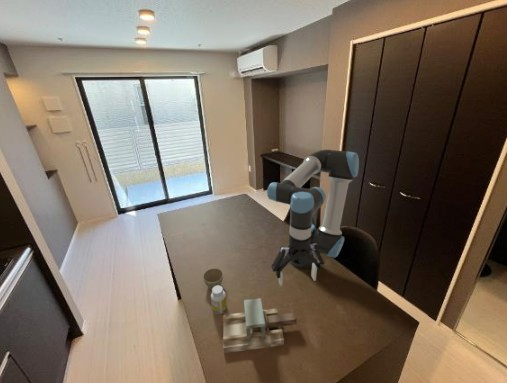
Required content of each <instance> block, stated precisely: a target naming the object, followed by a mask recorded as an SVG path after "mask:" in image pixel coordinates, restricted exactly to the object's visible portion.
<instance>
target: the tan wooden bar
mask: <svg viewBox="0 0 507 383" xmlns="http://www.w3.org/2000/svg"><path fill="white" fill-rule="evenodd" d="M263 314H264V320H265V331H268V328H270V329H271V328H277V327H280V326H281V327H287V326H294V325H297V321H298V320H297V316H296V313H295V312H289V313H283V314H278V315H272V316H266V311H263ZM252 331H253V332H260V331H261V327H256V328H252Z"/></svg>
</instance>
